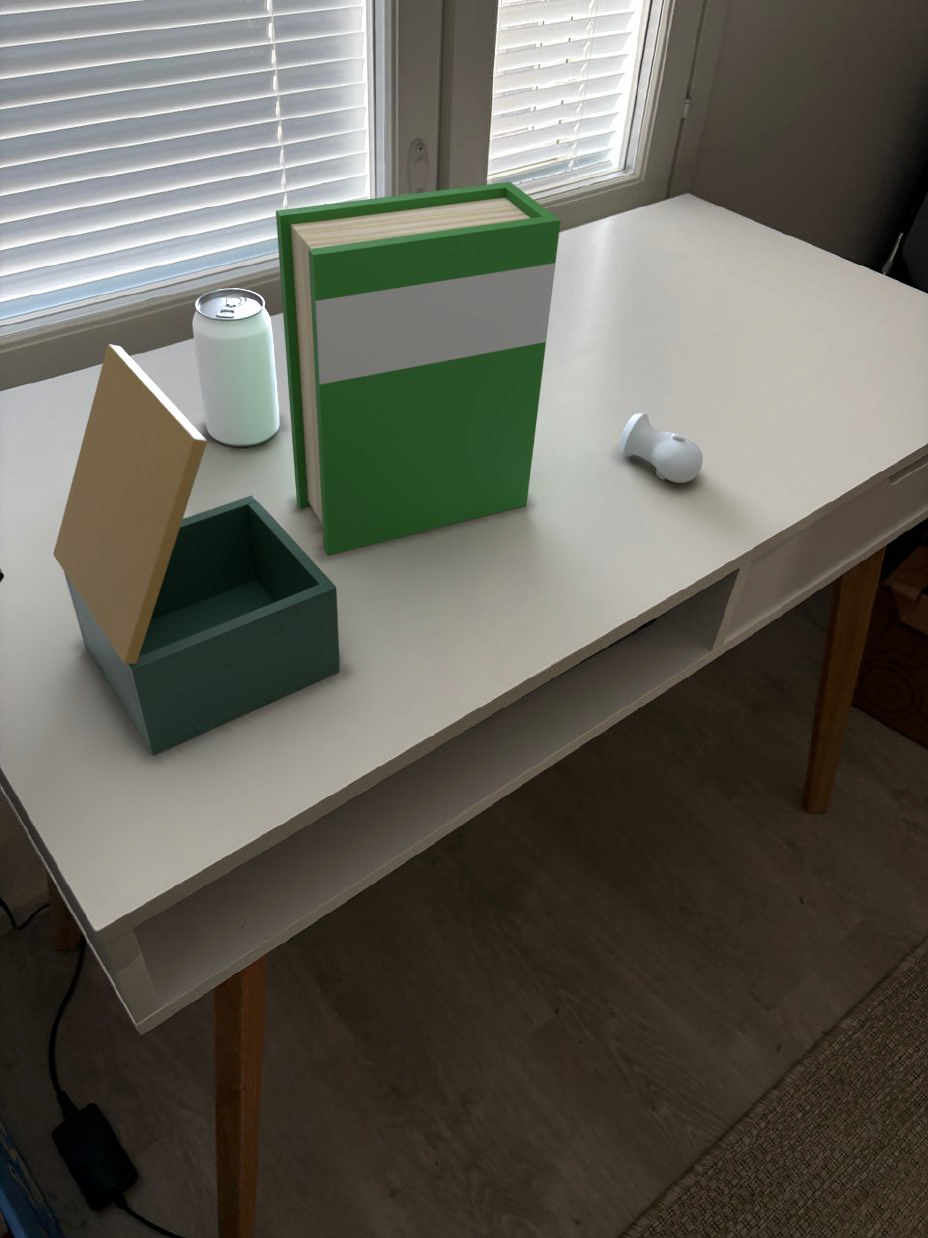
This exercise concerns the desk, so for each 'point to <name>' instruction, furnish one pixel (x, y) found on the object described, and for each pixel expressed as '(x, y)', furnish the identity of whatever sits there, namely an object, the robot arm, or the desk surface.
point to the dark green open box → (222, 627)
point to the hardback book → (414, 356)
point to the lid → (127, 500)
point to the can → (236, 367)
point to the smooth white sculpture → (661, 450)
